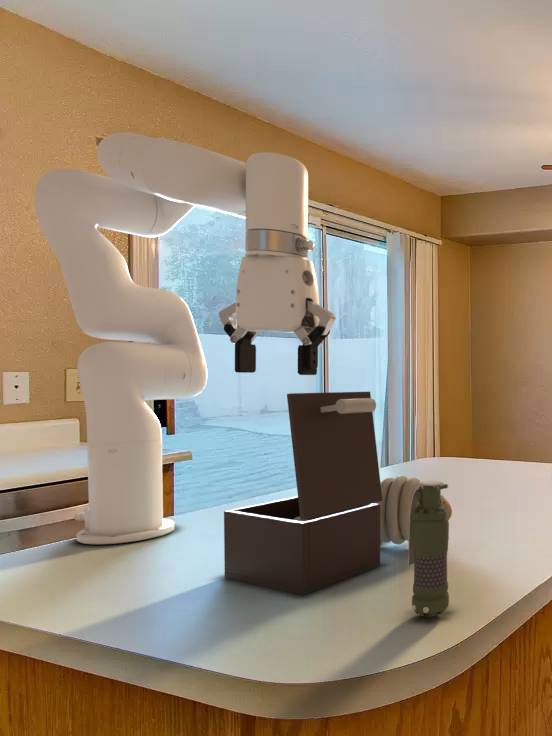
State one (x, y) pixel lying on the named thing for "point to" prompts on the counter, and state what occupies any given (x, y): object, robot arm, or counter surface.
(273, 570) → the dark wooden chest
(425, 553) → the grenade
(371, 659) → the counter surface
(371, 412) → the lid
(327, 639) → the counter surface
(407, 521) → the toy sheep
